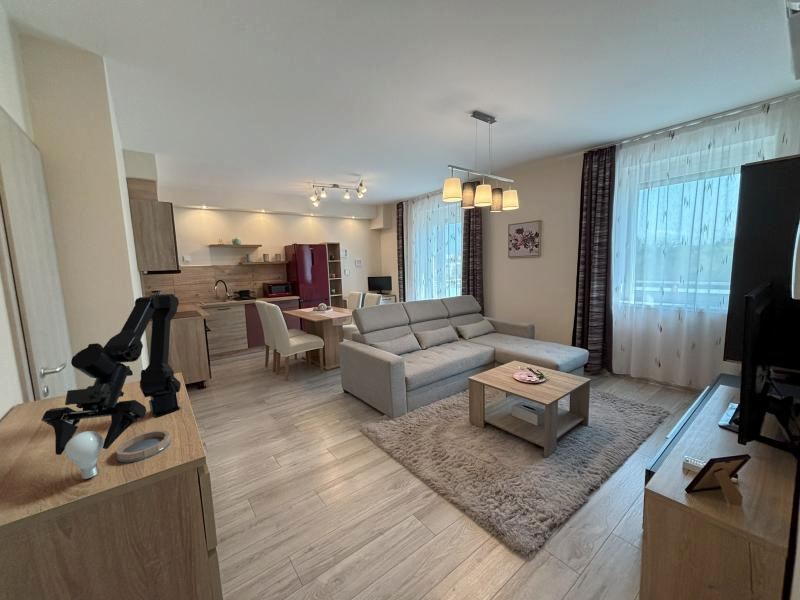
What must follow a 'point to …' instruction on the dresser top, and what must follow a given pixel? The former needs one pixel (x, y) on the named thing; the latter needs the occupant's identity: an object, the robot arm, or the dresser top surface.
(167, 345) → the robot arm
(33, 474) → the dresser top surface
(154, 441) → the round dish
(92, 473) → the lightbulb
